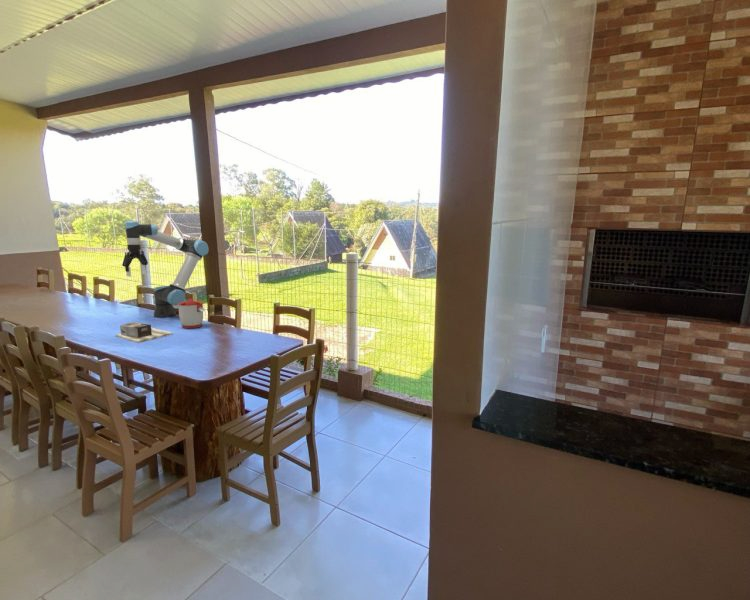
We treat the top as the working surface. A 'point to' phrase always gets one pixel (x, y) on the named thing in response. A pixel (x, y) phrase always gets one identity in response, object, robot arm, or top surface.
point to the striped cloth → (155, 334)
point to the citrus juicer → (191, 313)
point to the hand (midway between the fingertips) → (136, 275)
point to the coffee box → (135, 329)
